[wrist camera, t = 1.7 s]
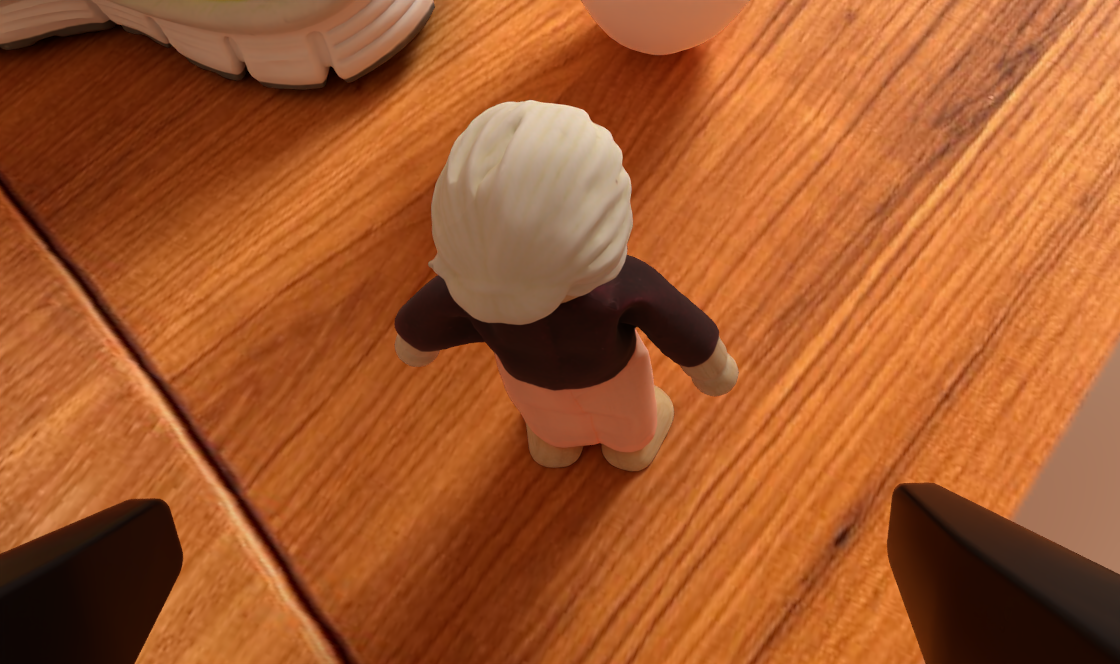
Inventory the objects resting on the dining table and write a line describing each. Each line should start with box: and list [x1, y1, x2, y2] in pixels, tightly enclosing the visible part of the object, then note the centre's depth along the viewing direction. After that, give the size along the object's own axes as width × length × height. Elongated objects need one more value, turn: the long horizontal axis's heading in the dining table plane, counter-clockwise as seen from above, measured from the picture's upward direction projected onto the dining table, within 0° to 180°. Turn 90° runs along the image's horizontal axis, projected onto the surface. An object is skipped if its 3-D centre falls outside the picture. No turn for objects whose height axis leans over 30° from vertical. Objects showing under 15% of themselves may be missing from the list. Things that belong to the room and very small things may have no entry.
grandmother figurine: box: [395, 100, 739, 471], centre depth 16 cm, size 8×4×13 cm, turn 95°
